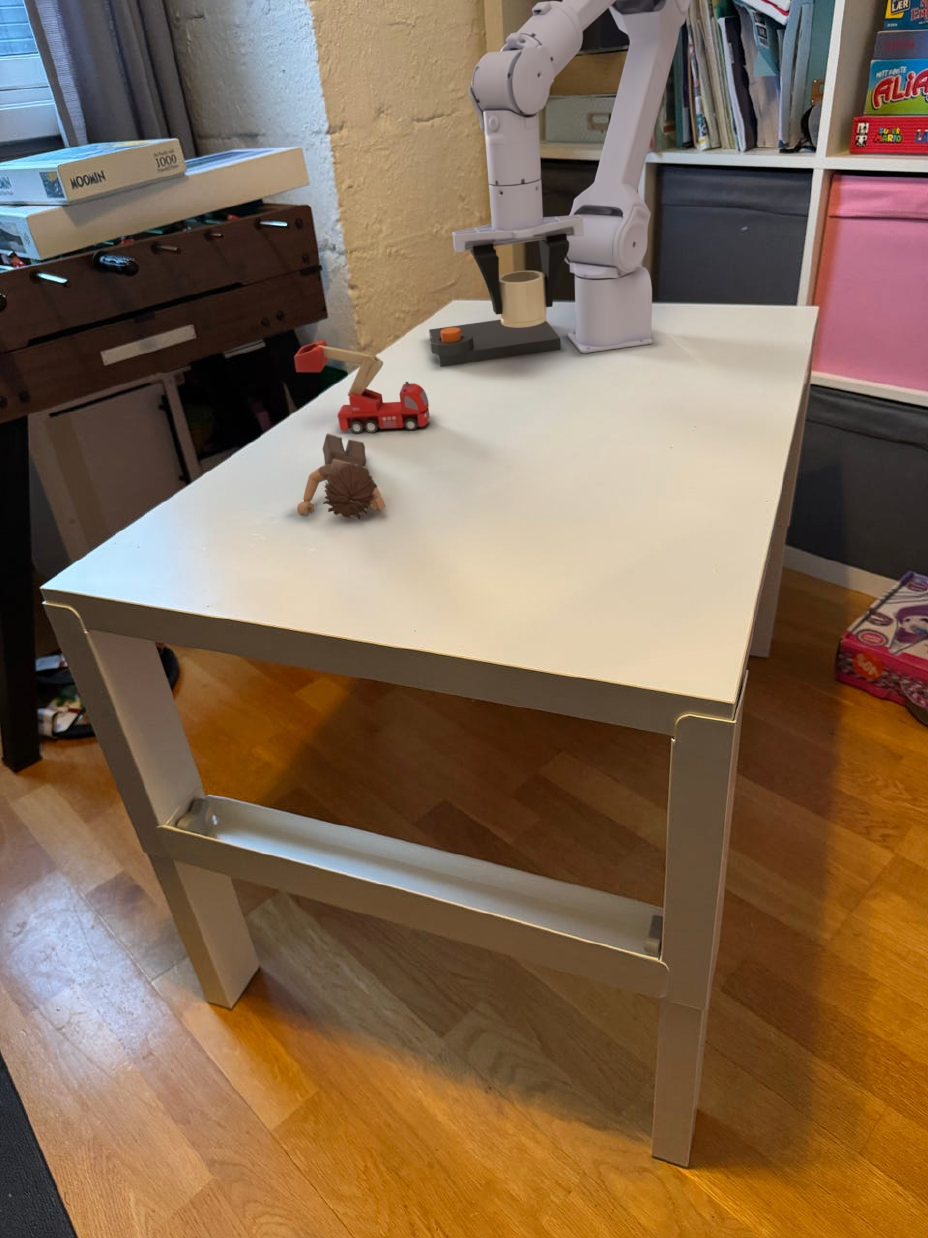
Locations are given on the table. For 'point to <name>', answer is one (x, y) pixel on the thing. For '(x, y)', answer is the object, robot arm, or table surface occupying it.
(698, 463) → the table surface
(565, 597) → the table surface
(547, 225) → the robot arm
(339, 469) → the figurine
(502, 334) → the scale
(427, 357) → the table surface
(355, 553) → the table surface
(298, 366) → the toy fire truck
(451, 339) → the button
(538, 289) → the small cup
